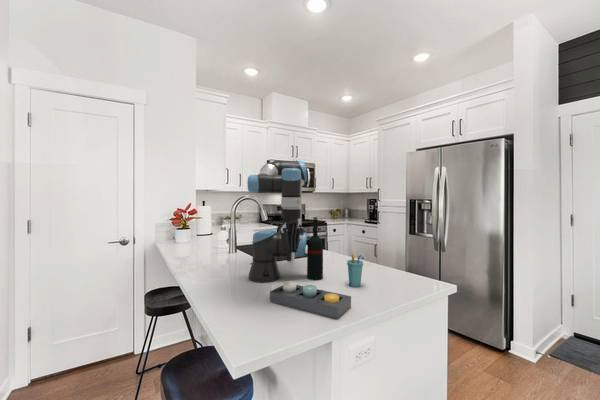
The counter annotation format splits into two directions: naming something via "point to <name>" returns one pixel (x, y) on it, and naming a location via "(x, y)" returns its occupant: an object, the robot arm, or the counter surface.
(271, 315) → the counter surface
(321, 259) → the wine bottle
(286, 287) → the button ivory
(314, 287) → the button teal
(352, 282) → the cup
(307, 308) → the console
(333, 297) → the button amber
